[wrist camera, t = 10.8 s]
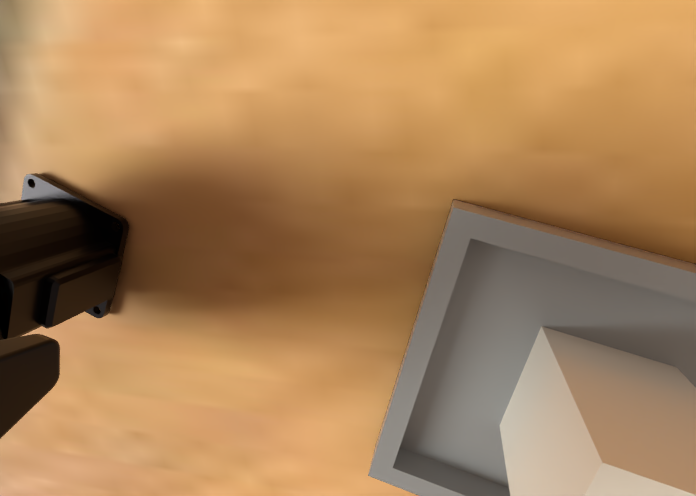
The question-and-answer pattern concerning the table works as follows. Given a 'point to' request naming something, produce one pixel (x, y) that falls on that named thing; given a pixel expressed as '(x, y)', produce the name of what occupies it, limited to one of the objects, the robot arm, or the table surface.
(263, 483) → the table surface
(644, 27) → the table surface
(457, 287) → the tray
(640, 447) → the grey-topped stepped block
